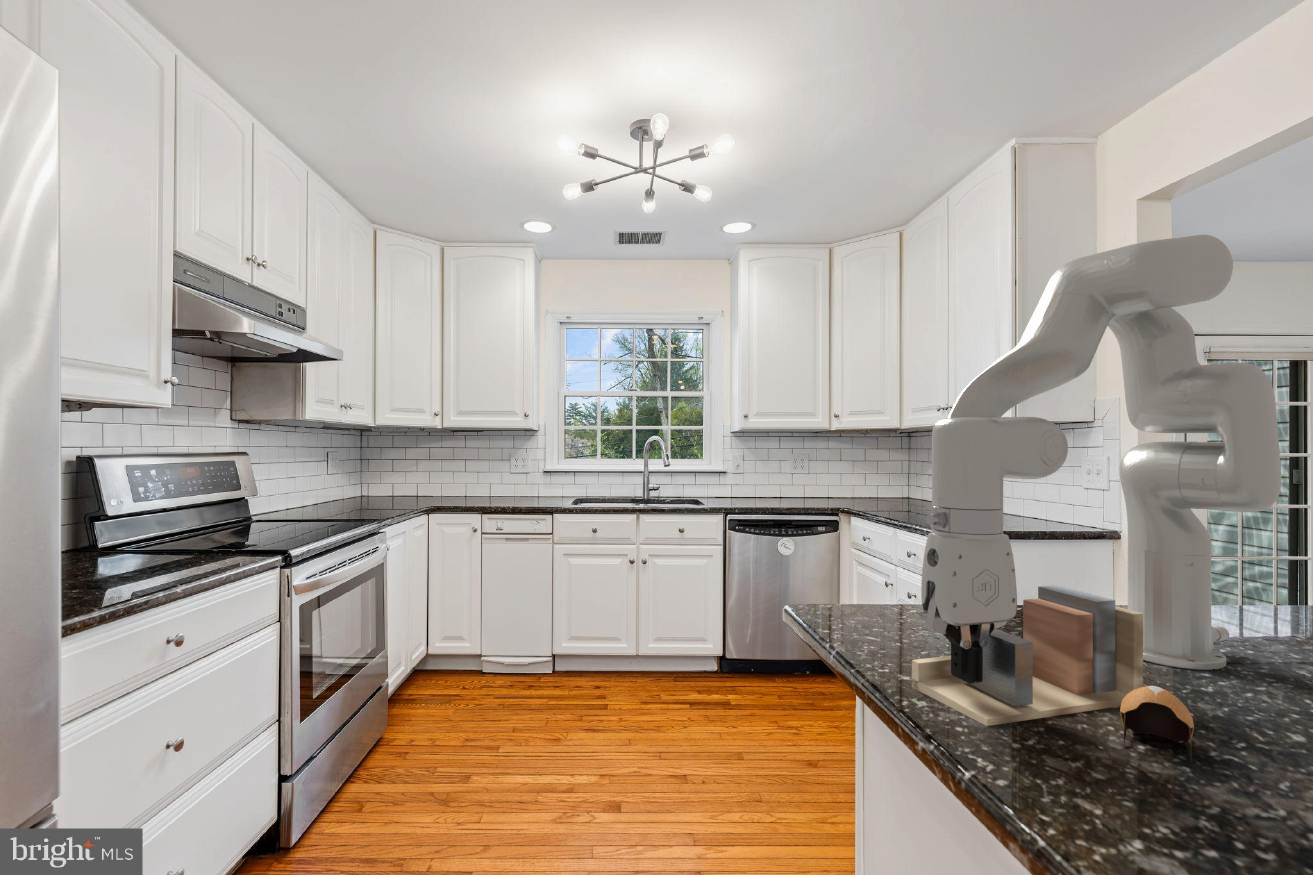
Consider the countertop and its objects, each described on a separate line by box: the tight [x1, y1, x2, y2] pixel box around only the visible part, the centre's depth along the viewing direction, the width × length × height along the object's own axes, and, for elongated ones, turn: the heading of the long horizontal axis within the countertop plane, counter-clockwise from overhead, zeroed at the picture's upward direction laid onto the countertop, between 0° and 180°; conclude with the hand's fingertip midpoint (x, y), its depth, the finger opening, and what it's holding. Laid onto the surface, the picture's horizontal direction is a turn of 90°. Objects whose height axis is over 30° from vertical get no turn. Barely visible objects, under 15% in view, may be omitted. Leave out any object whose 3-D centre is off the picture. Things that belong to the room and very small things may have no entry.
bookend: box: [970, 628, 1033, 707], centre depth 73 cm, size 2×8×7 cm, turn 16°
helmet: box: [1119, 685, 1195, 764], centre depth 62 cm, size 6×7×8 cm
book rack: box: [911, 584, 1144, 727], centre depth 75 cm, size 23×12×12 cm, turn 106°
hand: (966, 678), depth 72 cm, fingers closed
